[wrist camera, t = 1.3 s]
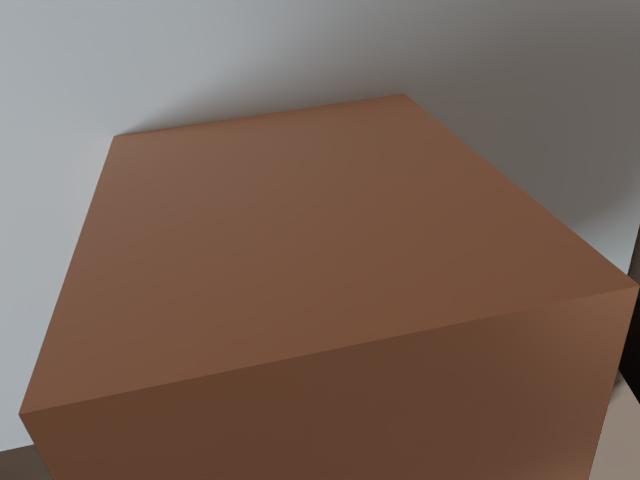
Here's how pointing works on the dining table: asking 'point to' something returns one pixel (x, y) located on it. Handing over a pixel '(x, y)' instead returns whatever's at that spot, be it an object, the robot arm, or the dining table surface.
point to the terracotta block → (324, 311)
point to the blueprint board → (296, 93)
